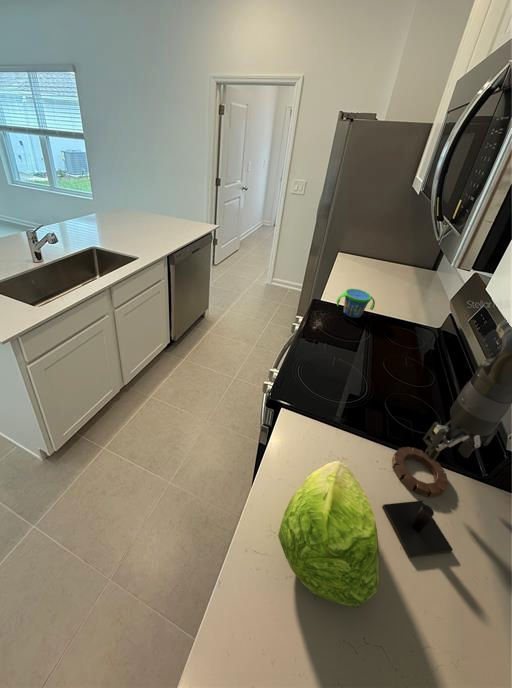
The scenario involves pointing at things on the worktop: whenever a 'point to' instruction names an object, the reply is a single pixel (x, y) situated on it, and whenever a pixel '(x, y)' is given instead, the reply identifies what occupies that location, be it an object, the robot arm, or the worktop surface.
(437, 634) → the worktop surface
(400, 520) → the stand
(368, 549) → the lettuce
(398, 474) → the ring
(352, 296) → the snack cup
